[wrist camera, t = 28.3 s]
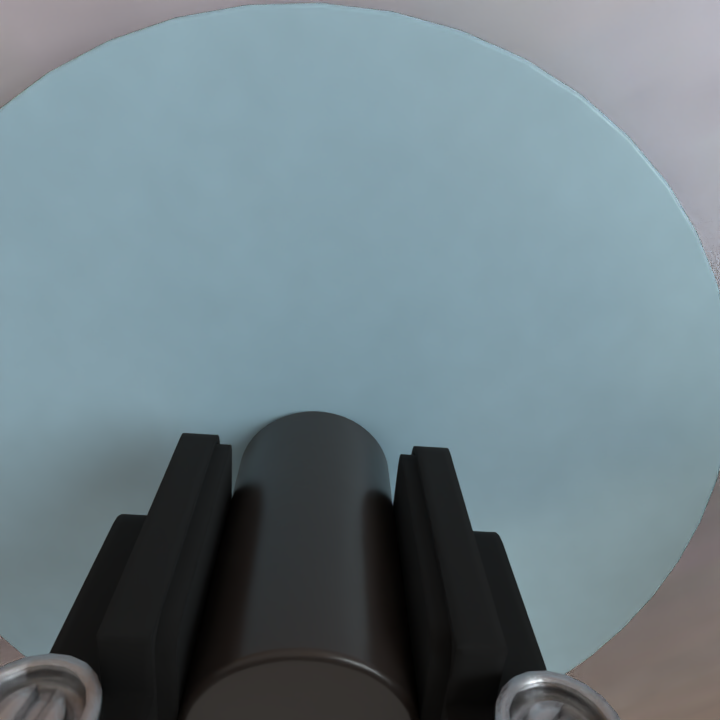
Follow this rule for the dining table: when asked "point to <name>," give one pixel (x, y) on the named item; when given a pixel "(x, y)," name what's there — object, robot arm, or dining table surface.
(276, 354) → the lid
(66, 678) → the robot arm
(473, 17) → the dining table surface
